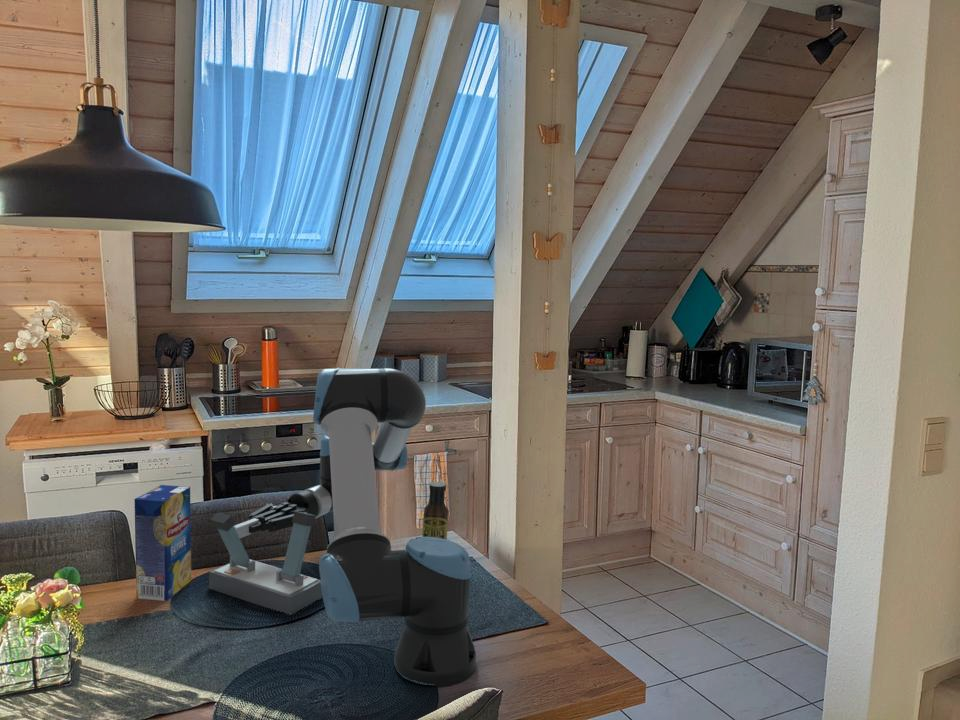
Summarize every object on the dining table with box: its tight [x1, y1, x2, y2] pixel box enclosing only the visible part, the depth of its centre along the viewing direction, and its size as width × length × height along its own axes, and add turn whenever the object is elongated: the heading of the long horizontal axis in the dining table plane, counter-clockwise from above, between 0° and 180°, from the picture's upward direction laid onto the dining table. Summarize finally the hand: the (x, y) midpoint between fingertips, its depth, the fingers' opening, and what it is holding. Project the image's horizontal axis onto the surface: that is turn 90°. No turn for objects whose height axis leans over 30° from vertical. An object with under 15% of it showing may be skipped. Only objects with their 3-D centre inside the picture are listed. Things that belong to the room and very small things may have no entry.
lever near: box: [281, 511, 316, 582], centre depth 166 cm, size 4×2×14 cm, turn 61°
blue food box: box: [133, 484, 192, 602], centre depth 168 cm, size 7×11×22 cm, turn 173°
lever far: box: [210, 512, 250, 568], centre depth 168 cm, size 4×2×14 cm, turn 61°
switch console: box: [208, 556, 322, 616], centre depth 169 cm, size 24×10×6 cm, turn 61°
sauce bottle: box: [421, 481, 449, 540], centre depth 190 cm, size 6×6×20 cm
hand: (234, 533), depth 169 cm, fingers closed
